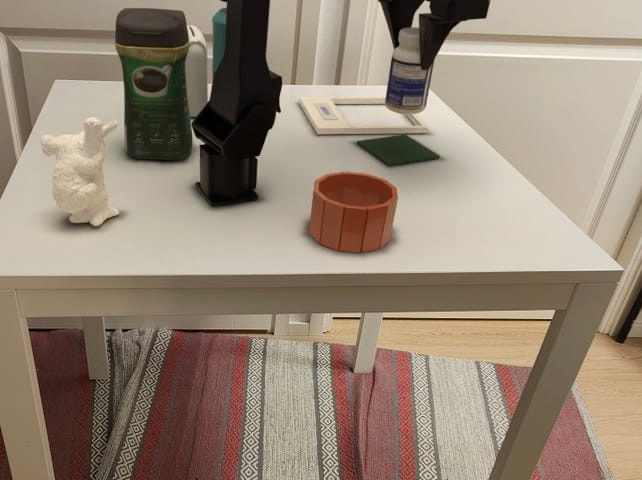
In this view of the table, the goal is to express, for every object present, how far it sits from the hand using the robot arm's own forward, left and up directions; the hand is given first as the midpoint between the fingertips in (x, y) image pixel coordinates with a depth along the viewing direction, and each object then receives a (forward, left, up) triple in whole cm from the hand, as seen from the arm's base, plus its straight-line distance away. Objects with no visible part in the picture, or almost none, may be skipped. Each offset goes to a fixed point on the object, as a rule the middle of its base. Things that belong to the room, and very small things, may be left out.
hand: (412, 63), depth 88 cm
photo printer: (-21, +29, -13) cm, 38 cm away
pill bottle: (0, 0, -6) cm, 6 cm away
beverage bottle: (-18, +19, -13) cm, 30 cm away
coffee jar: (-32, +13, -13) cm, 37 cm away
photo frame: (+4, +16, -13) cm, 21 cm away
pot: (-18, -17, -13) cm, 28 cm away
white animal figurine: (-46, -4, -13) cm, 48 cm away
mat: (+2, +2, -13) cm, 14 cm away
